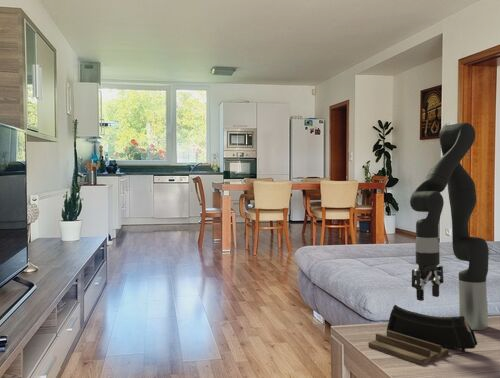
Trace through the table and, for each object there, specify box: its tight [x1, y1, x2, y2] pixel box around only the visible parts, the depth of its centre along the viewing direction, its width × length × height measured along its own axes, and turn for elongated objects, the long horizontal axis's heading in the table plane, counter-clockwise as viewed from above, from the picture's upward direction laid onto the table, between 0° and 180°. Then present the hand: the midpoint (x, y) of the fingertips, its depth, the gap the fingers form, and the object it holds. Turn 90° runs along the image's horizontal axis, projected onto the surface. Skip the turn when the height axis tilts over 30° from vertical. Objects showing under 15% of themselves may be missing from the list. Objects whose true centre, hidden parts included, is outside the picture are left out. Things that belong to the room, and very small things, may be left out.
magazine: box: [386, 304, 478, 353], centre depth 155 cm, size 17×3×30 cm
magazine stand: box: [367, 329, 449, 366], centre depth 148 cm, size 14×20×4 cm
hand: (428, 298), depth 155 cm, fingers open, 8 cm apart
